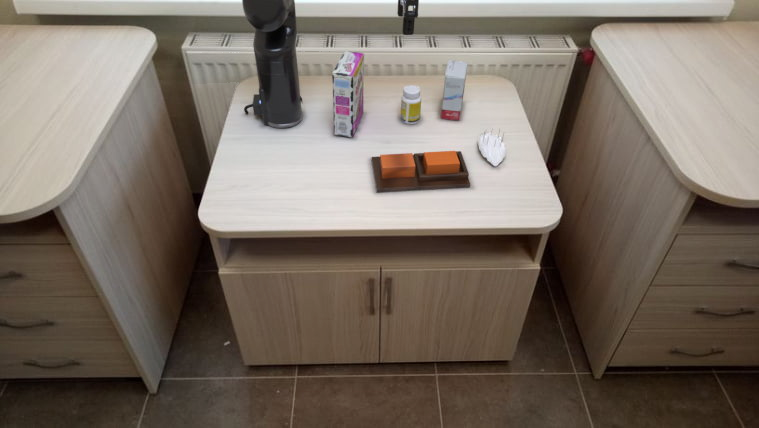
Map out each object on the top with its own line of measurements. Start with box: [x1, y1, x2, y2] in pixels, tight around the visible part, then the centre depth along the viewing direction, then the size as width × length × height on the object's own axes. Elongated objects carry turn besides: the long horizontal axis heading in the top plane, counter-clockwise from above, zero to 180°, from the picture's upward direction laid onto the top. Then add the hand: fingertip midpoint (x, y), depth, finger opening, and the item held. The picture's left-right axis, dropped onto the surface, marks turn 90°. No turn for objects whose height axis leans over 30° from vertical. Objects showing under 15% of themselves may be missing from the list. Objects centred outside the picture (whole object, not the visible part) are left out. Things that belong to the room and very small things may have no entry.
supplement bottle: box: [400, 84, 422, 125], centre depth 131 cm, size 5×5×8 cm
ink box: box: [440, 59, 468, 121], centre depth 133 cm, size 9×5×12 cm, turn 168°
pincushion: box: [477, 128, 507, 167], centre depth 123 cm, size 12×6×6 cm, turn 1°
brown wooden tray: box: [371, 150, 471, 194], centre depth 117 cm, size 20×11×4 cm, turn 96°
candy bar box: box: [331, 50, 365, 139], centre depth 126 cm, size 11×5×16 cm, turn 168°
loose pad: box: [423, 150, 460, 174], centre depth 117 cm, size 7×4×3 cm, turn 96°
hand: (405, 24), depth 113 cm, fingers open, 8 cm apart
